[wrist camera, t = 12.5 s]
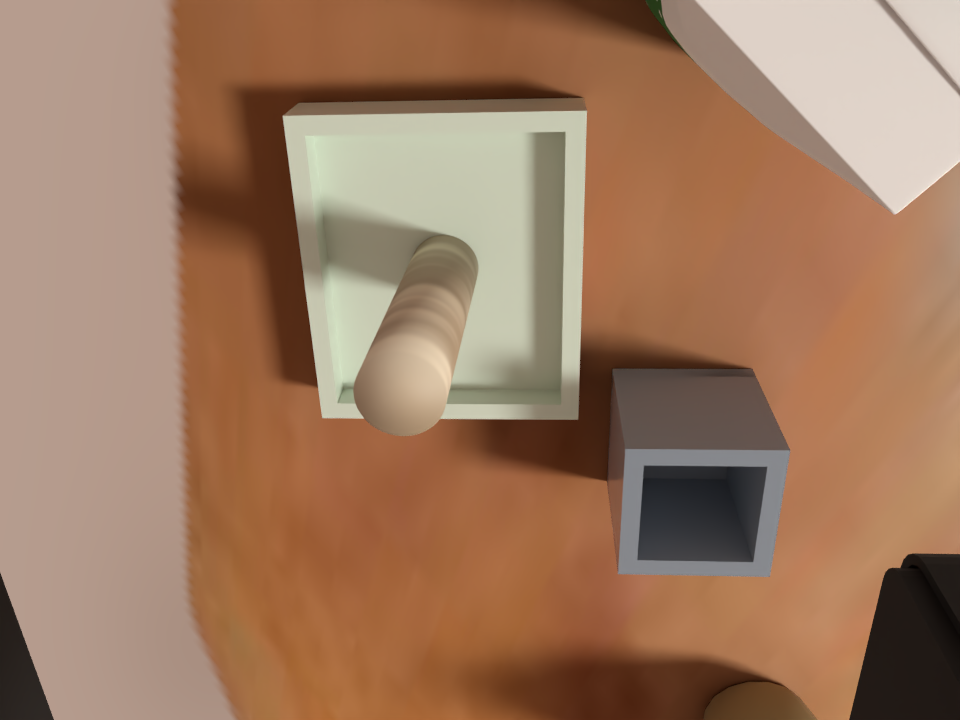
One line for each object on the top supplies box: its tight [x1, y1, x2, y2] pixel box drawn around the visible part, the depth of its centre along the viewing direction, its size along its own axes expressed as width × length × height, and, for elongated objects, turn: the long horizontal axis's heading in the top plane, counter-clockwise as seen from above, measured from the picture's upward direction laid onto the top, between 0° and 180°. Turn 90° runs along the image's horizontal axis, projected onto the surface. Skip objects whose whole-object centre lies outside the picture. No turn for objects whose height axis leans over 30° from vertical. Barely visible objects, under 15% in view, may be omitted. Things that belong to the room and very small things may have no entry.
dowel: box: [353, 235, 479, 436], centre depth 33 cm, size 3×3×12 cm
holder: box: [607, 369, 790, 577], centre depth 40 cm, size 7×7×7 cm
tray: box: [283, 98, 587, 420], centre depth 38 cm, size 14×12×3 cm
